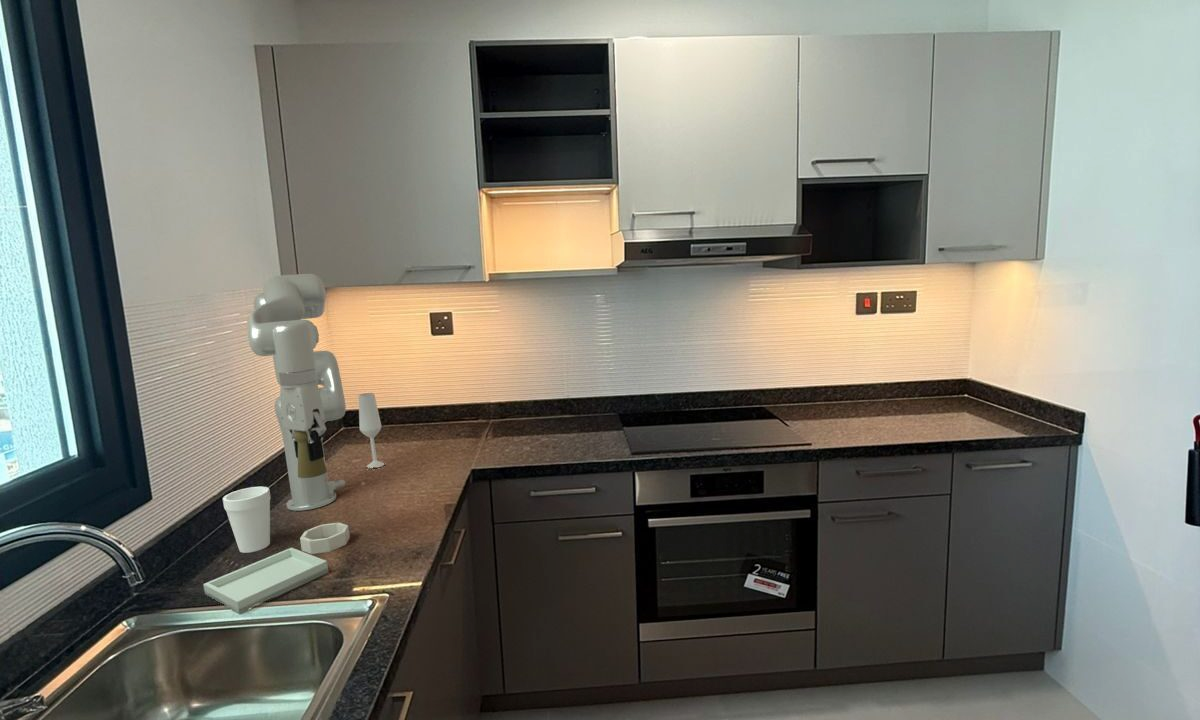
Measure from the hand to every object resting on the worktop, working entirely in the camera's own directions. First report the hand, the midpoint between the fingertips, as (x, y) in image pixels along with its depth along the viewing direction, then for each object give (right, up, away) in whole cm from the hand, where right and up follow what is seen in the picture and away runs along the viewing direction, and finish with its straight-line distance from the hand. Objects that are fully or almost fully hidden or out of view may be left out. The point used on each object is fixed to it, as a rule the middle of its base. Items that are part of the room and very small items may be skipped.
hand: (310, 457), depth 140 cm
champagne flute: (-8, -13, +63) cm, 65 cm away
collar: (+2, -21, +4) cm, 21 cm away
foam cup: (-16, -22, +6) cm, 28 cm away
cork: (0, -4, +1) cm, 4 cm away
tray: (-2, -24, -13) cm, 27 cm away
